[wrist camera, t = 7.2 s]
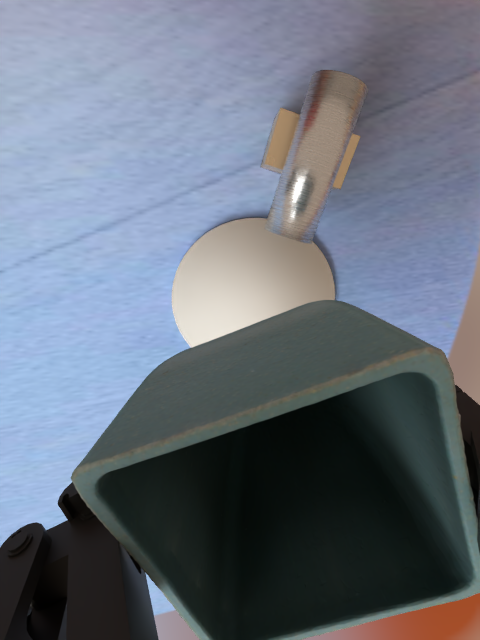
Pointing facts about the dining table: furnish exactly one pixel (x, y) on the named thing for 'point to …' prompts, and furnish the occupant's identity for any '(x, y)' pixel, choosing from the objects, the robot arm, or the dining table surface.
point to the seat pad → (245, 279)
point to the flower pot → (293, 477)
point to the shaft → (312, 152)
